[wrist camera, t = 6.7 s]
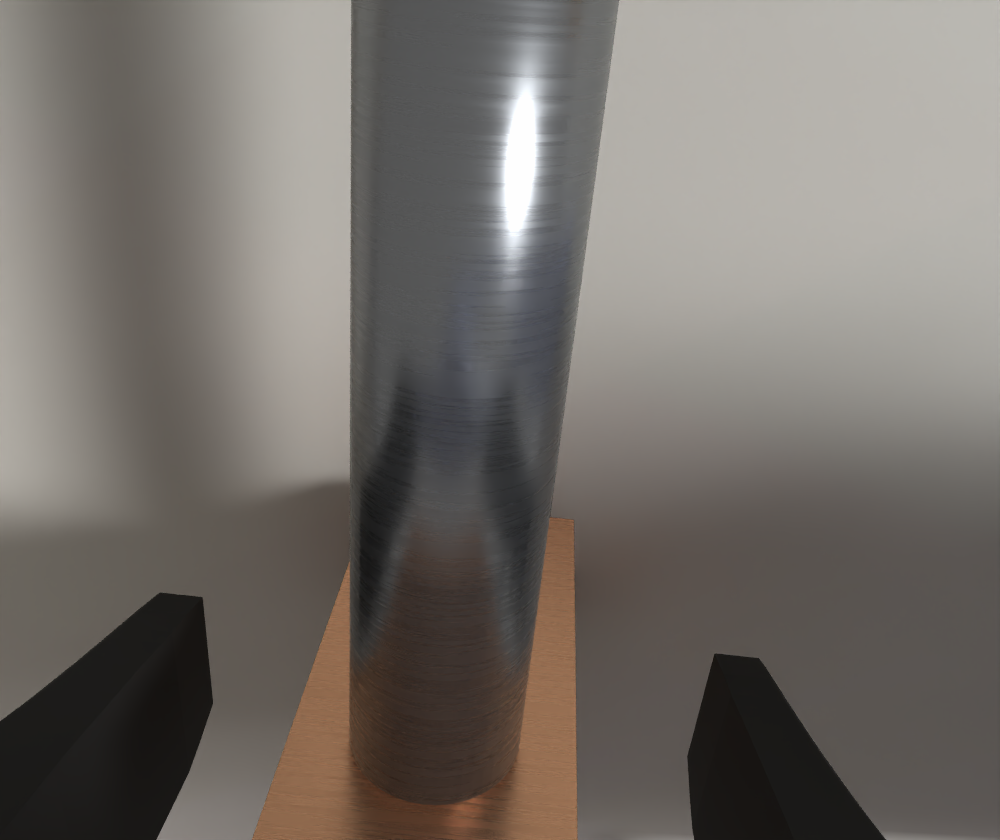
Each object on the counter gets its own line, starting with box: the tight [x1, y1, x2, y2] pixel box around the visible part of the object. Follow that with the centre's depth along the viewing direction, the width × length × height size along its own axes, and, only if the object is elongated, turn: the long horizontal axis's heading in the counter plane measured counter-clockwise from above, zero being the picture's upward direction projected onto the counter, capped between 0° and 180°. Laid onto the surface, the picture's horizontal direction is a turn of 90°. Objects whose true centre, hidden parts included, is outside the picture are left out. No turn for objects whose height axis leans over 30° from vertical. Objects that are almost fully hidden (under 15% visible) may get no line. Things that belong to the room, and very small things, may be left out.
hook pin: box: [252, 0, 619, 840], centre depth 9 cm, size 13×3×6 cm, turn 175°
